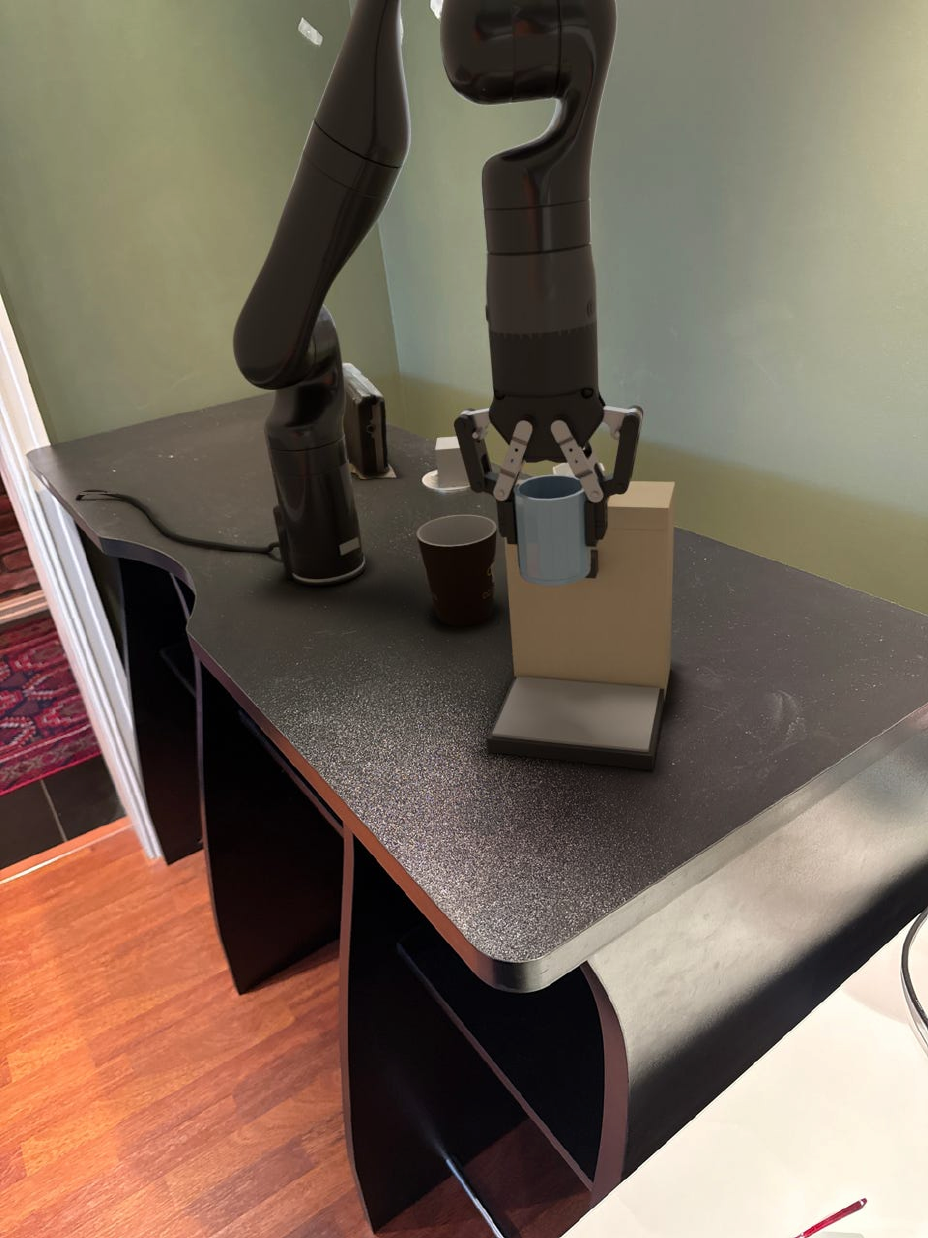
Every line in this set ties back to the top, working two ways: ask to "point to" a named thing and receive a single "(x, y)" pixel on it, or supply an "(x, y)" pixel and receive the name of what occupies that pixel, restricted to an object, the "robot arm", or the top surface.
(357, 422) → the radio
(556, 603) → the coffee maker
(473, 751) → the top surface
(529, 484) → the creamer cup
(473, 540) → the coffee mug
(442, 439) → the white cube
